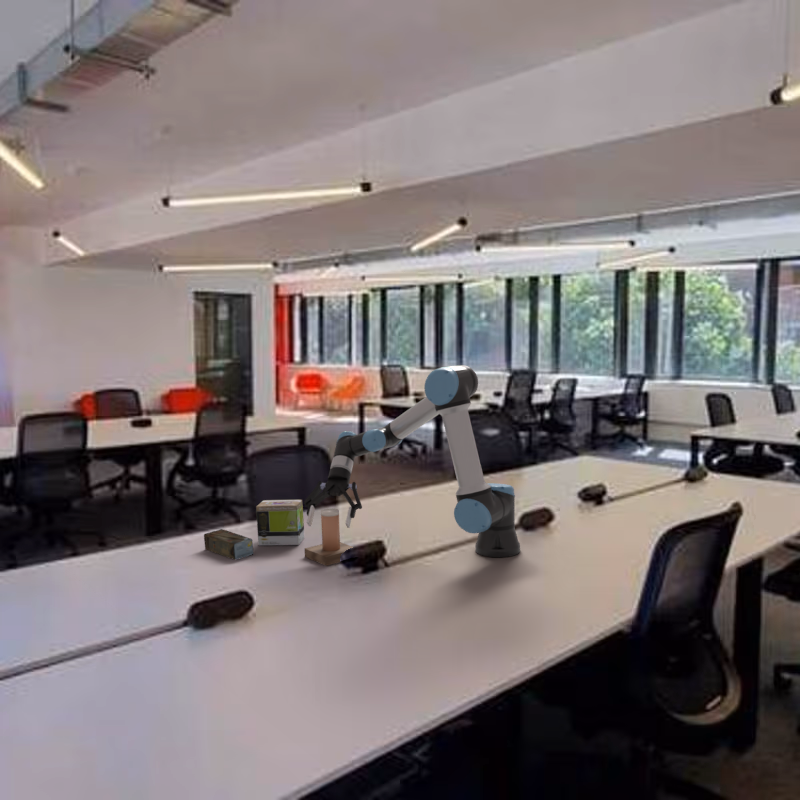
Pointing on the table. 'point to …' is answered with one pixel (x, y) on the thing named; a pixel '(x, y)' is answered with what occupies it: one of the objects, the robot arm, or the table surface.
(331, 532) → the terracotta canister
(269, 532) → the tea box
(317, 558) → the wooden square slab
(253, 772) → the table surface
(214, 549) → the beverage carton
